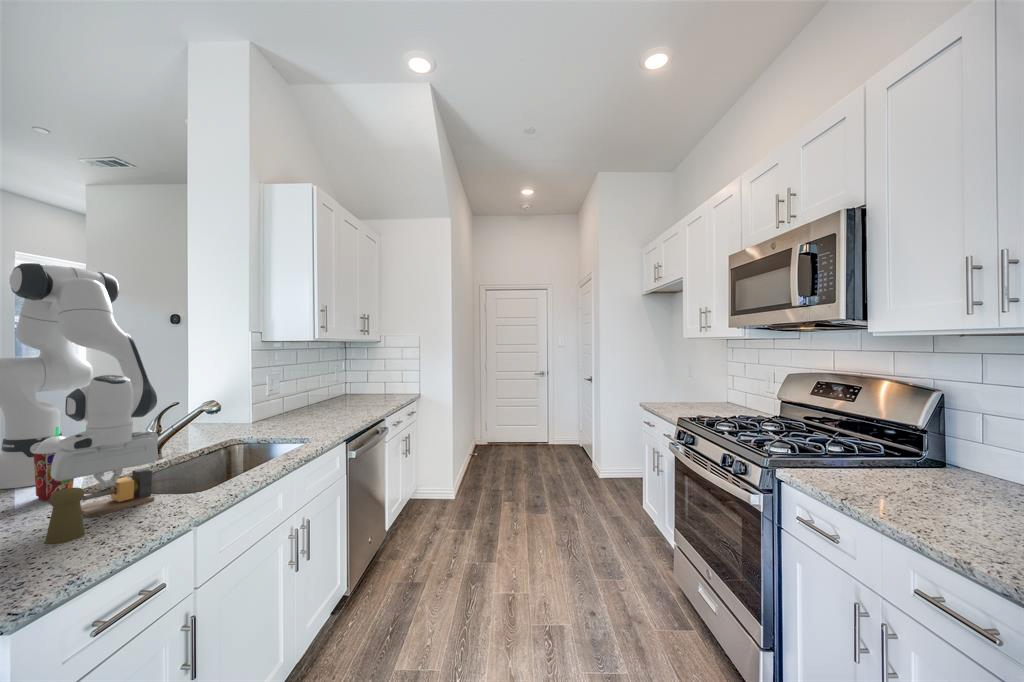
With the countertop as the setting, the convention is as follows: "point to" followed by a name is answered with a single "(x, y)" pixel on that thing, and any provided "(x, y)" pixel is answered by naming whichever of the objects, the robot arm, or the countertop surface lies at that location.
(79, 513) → the cork
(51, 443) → the smoothie
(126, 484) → the sleeve
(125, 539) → the countertop surface
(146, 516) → the countertop surface
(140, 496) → the sliding block toy
